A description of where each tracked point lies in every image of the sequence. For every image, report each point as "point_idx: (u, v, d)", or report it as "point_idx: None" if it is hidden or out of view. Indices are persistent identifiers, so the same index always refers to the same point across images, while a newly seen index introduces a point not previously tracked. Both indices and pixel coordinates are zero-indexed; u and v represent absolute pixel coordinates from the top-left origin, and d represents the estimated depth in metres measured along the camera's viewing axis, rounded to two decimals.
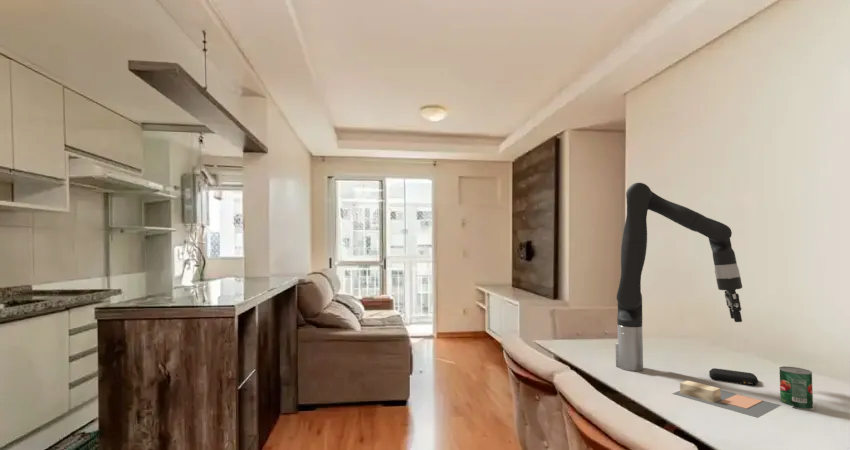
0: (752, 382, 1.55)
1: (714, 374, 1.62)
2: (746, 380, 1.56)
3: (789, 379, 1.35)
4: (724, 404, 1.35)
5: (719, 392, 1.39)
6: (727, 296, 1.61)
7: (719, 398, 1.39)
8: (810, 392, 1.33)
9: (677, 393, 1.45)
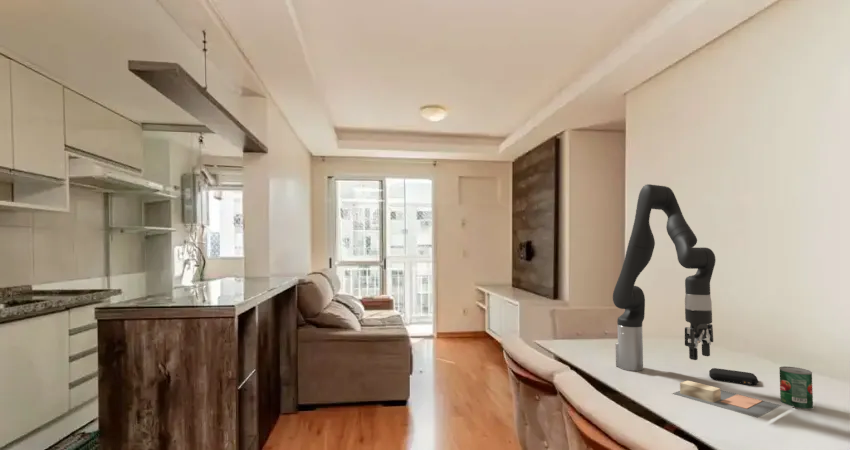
0: (752, 382, 1.55)
1: (714, 374, 1.62)
2: (746, 380, 1.56)
3: (789, 379, 1.35)
4: (724, 404, 1.35)
5: (719, 392, 1.39)
6: None
7: (719, 398, 1.39)
8: (810, 392, 1.33)
9: (677, 393, 1.45)
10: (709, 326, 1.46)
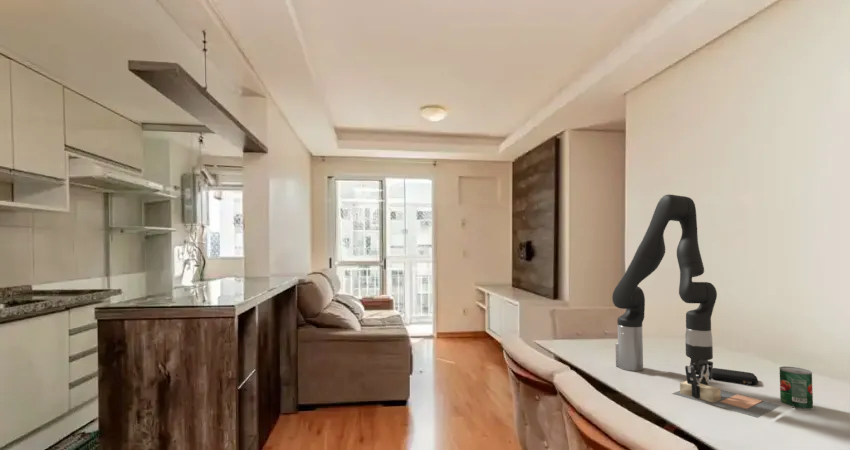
0: (752, 382, 1.55)
1: (714, 374, 1.62)
2: (746, 380, 1.56)
3: (789, 379, 1.35)
4: (724, 404, 1.35)
5: (719, 392, 1.39)
6: None
7: (719, 398, 1.39)
8: (810, 392, 1.33)
9: (677, 393, 1.45)
10: (709, 363, 1.45)
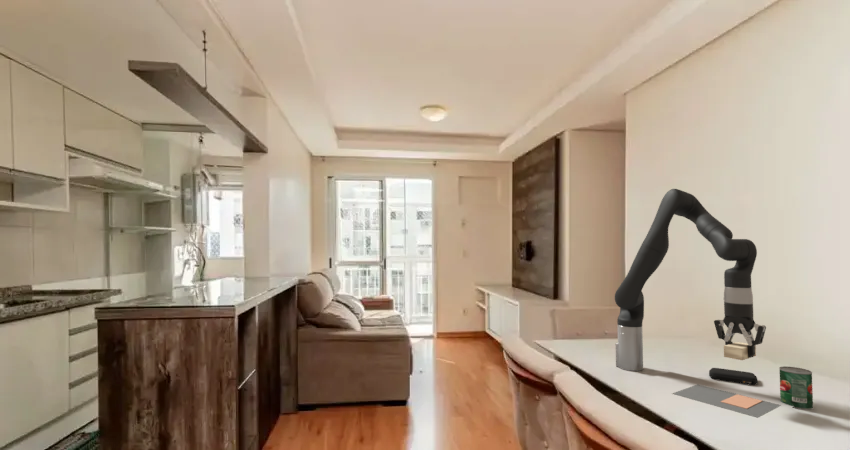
0: (751, 381, 1.55)
1: (714, 373, 1.62)
2: (745, 379, 1.56)
3: (789, 379, 1.35)
4: (724, 404, 1.35)
5: (739, 352, 1.34)
6: None
7: (739, 358, 1.34)
8: (810, 392, 1.33)
9: (677, 393, 1.45)
10: None
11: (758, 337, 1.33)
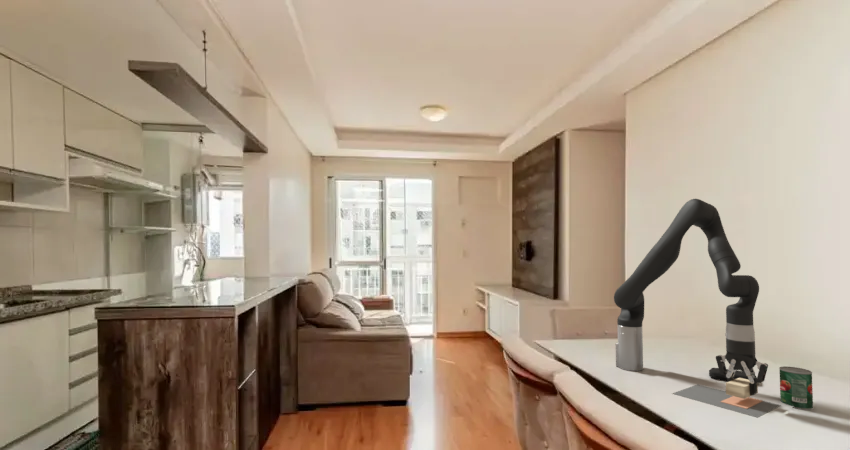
0: None
1: (714, 373, 1.62)
2: None
3: (789, 379, 1.35)
4: (724, 404, 1.35)
5: (741, 390, 1.33)
6: None
7: (741, 396, 1.33)
8: (810, 392, 1.33)
9: (677, 393, 1.45)
10: None
11: (760, 375, 1.33)
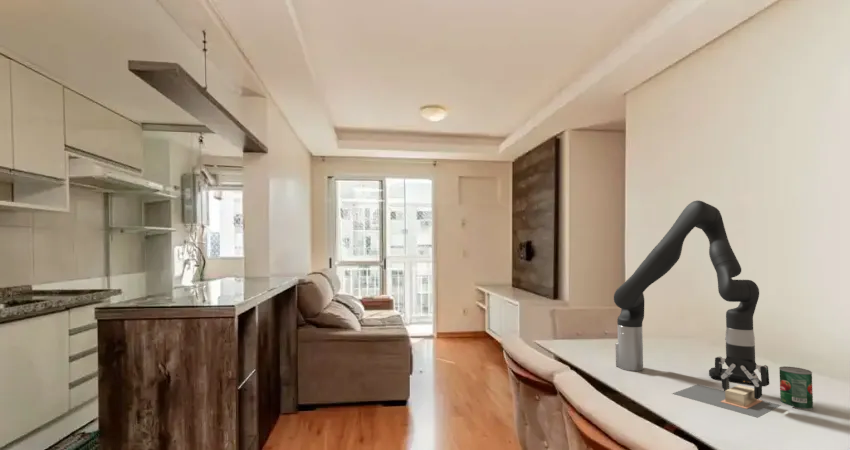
0: (751, 381, 1.56)
1: (714, 373, 1.63)
2: (745, 379, 1.57)
3: (789, 379, 1.35)
4: (724, 404, 1.35)
5: (740, 398, 1.33)
6: None
7: (740, 404, 1.33)
8: (810, 392, 1.33)
9: (677, 393, 1.45)
10: None
11: (763, 378, 1.32)
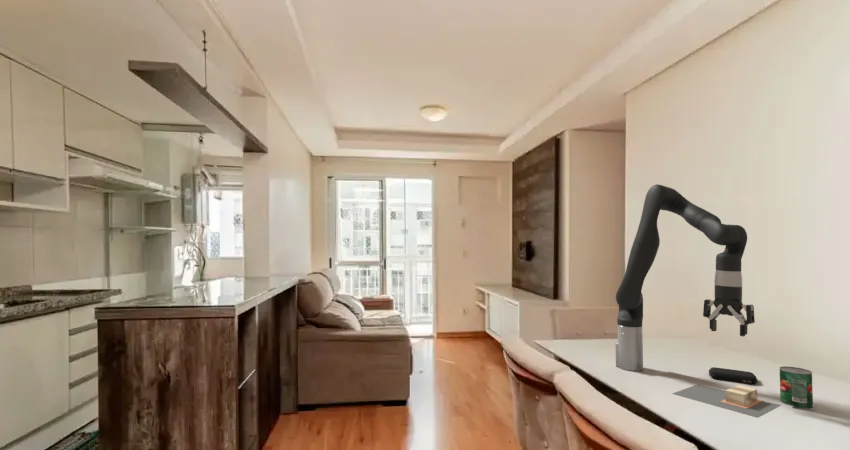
0: (751, 381, 1.56)
1: (714, 373, 1.63)
2: (745, 379, 1.57)
3: (789, 379, 1.35)
4: (724, 404, 1.35)
5: (740, 398, 1.33)
6: None
7: (740, 404, 1.33)
8: (810, 392, 1.33)
9: (677, 393, 1.45)
10: None
11: (749, 316, 1.38)
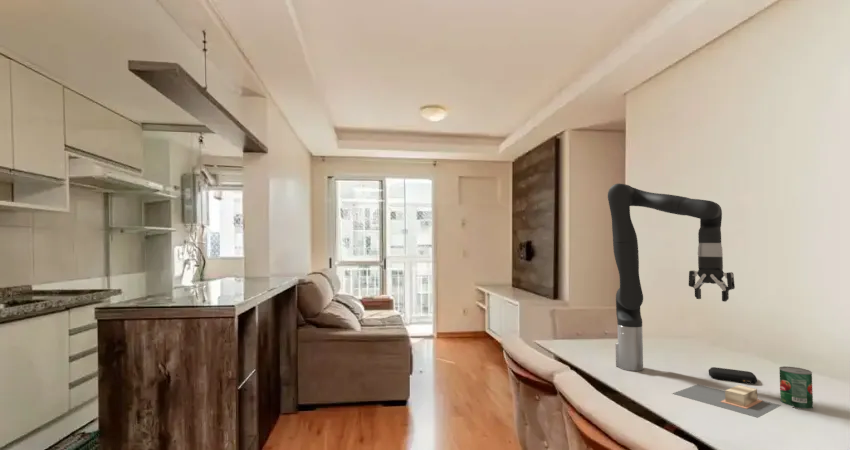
0: (751, 380, 1.56)
1: (714, 373, 1.63)
2: (745, 378, 1.57)
3: (789, 379, 1.35)
4: (724, 404, 1.35)
5: (740, 398, 1.33)
6: None
7: (740, 404, 1.33)
8: (810, 392, 1.33)
9: (677, 393, 1.45)
10: None
11: (729, 282, 1.52)
